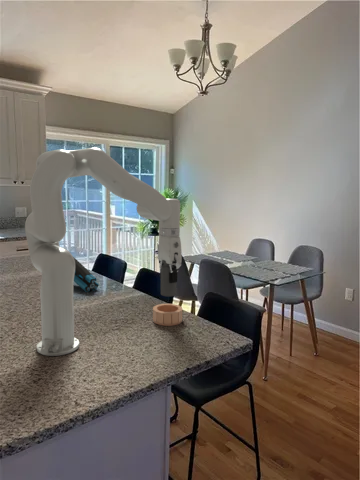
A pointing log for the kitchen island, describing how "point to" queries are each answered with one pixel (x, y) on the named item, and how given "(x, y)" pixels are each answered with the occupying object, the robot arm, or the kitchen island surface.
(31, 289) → the kitchen island surface
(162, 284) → the bottle
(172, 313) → the segmented wooden bowl
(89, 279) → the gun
